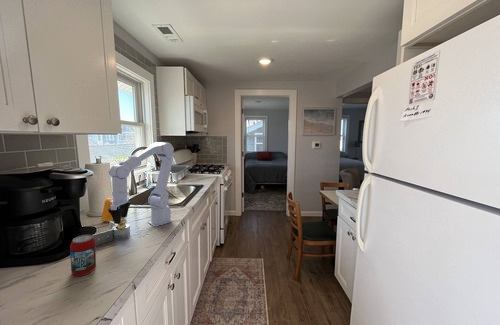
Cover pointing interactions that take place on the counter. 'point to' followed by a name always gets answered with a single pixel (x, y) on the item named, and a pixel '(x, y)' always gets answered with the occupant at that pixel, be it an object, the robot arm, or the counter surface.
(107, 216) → the bracket
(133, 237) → the counter surface
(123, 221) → the hinge pin
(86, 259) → the beverage can
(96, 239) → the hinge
